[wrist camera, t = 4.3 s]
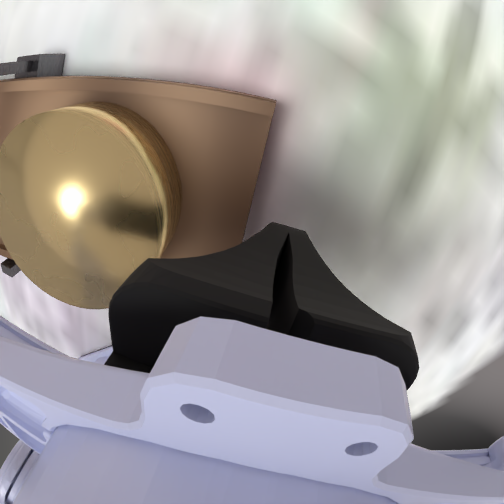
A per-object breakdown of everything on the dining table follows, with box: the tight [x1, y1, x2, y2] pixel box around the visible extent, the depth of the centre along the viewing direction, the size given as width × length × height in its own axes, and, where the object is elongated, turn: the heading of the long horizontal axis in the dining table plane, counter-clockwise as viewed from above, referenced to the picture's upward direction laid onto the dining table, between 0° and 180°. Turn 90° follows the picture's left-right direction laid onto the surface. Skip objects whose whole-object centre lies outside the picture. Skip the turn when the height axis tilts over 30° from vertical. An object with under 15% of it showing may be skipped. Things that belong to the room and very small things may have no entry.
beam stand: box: [0, 54, 65, 277], centre depth 13 cm, size 2×12×4 cm, turn 167°
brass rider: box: [0, 101, 182, 309], centre depth 11 cm, size 8×8×3 cm
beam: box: [0, 76, 276, 260], centre depth 12 cm, size 26×10×2 cm, turn 77°
